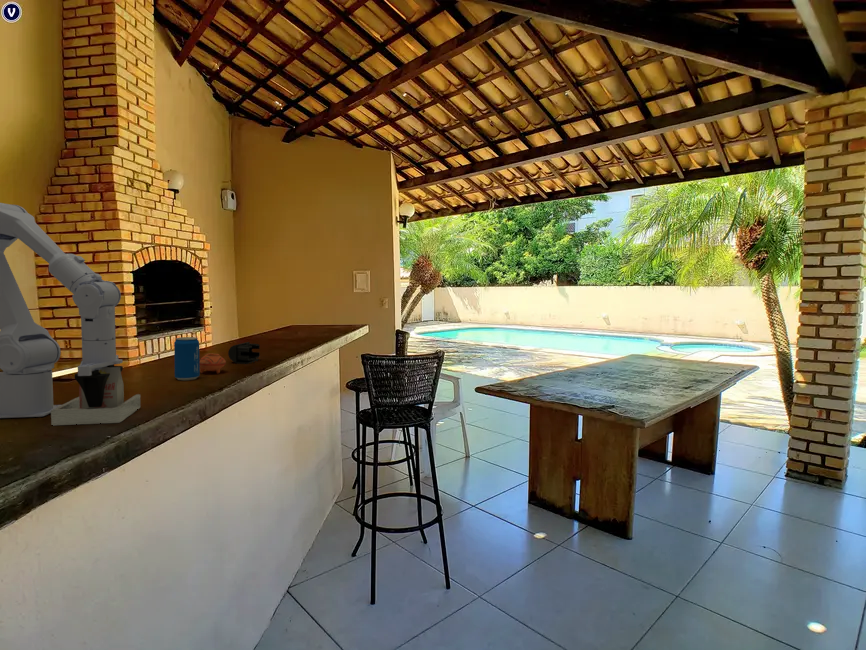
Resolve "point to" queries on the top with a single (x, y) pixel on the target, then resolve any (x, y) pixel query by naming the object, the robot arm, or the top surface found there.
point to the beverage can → (186, 358)
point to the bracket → (93, 413)
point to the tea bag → (108, 389)
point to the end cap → (244, 353)
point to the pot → (212, 362)
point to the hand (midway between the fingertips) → (100, 403)
